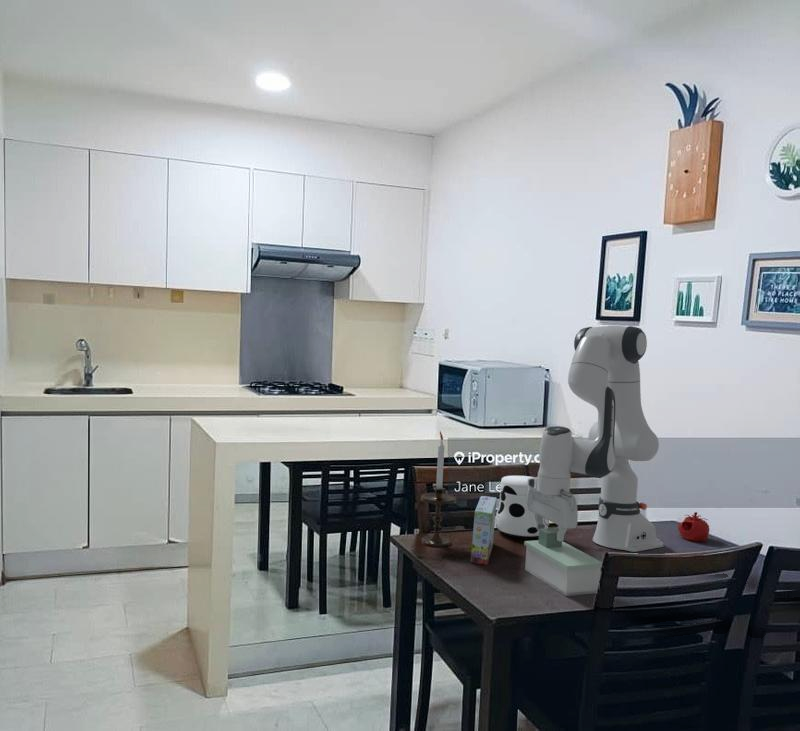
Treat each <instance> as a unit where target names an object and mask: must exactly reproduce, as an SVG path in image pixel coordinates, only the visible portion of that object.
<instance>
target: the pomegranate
mask: <svg viewBox="0 0 800 731" xmlns="http://www.w3.org/2000/svg"><path fill="white" fill-rule="evenodd" d="M700 517H701V518H700ZM707 521H708V519H707V518H704V517H703V518H702V516H701V514H699V515H698V512H697V511H694V512H693V514H691V516H690V515H689V514H686V517H685V518H684V520H683V521H681V522H679V524H678V525H677V528H678V533H679V535H680V536H681V537H682V538H683V539H685V540H687V541H691V542H697V543H698V542H699V541H701V542H705V541H707V540H708V538H709V535H710V526H709V524H708V523H707ZM699 543H700V542H699Z"/></svg>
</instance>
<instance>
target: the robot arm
mask: <svg viewBox="0 0 800 731" xmlns="http://www.w3.org/2000/svg"><path fill="white" fill-rule="evenodd" d="M573 341H574V342H573V347H574V354H573V355H572V356H573V357H572V359H571V363H570V367H569V371H568V376H567V384H568V386H569V390H571V392H572V393H573V394H574V395H576V396H577V397H578V398H579V399H581V400H582V401H584V402H586V403H588V404H589V405H591V406H593V407H594V408H596V410H597V413H598V415H597V421H596V422H595V423H594V424H593V425H592V426H591V427H590V428H589V432H588V439H584V438H578V437H574V436H573V434H572V431H571V429H570V428H568V427H566V426H556V425H555V426H548V427H547V428H545V429H544V430H543V431H542V435H541V440H540V446H539V455H538V459H539V460H538V461H539V469H538V471H537V476H536V477H535V476H534V477H535V478H529V479H528V486H529V488H528V493H527V507H528V510H529V511H531V512H533V513H535V519H536V523H537V530H539V529H545V525H544V523H543V518H545V519H547V520H549V522H552V523H554V524H555V525H557V530H559V531H558V533H555V539H556V540H557V541H563V542H564V540H565V534H566V532H567V531H568V529H575V528H576V527H577V526H578V517H579V516H578V503H577V501H576V498H575V497H574V494H573V493H572V492H570V487H571V473H575V474H581V475H582V474H583V475H586V476H590V477H594V478H597V479H601V484H600V486H601V487H600V488H601V489H600V497H599V498H598V499H599V500H598V518H597V524H596V528H595V532H594V534H593V537H592V541H593V543H595V544H598V545H600V546H602V547H605V548H609V549H614V550H615V549H616V550H622V551H628V552H631V553H636V552H637V553H638V552H641V551H647V550H653V549H658V548H663V547H664V542H663V541H661V539H659V538H657V531H656V530H657V529H656V527H655V525H654V524H653V523H652V522H651V521H650V520H649V519H648V518H646V517H645V516H644V515H643V514H642V513H641V510H643V511H646V510H647V508H648V505H647V503H644V502H640V503H639V501H637V500H638V499H637V497H638V484H639V483H638V482H639V481H638V476H637V475H636V473H635V472H634V470H633V469H632V467H631V464H630V461H632V462H647V461H650V460H652V459H653V458H655V457H656V456H657V453H658V451H659V447H660V446H659V445H660V444H659V438H658V437H657V436H658V435H657V434H656V433H655V432H654V431H653V430H652V429H651V427H650V426H649V423H648V422H647V419H646V417H645V415H644V412H643V408H642V407H643V406H642V401H641V400H642V399H641V396H642V395H641V369H640V362H639V360H641V359H642V358H643V357H644V355H645V354H646V351H647V347H648V345H647V344H648V340H647V335H646V334H645V332H644V331H643V329H642V328H640V327H637V326H631V325H629V326H624V325H605V326H604V325H602V326H594V327H593V326H587V327H584V328H581V329H580V330H579V331H578V332H577V333H576V334H575V337H574V340H573Z"/></svg>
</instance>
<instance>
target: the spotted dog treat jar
mask: <svg viewBox="0 0 800 731" xmlns="http://www.w3.org/2000/svg"><path fill="white" fill-rule="evenodd" d="M529 478H535V476H527V475H506V476H502V477H501V480H500V490H499V503H498V508H497V510H496V513H495V524H496V528H497V530H498V531H499V532H501V533H502V534H504V535H507V536H510V537H514V538H519V539H537V538H538V539H539V530H537V523H536V519H535V513H533V512H531V511H529V510H528V507H527V493H528V488H529V486H528V479H529ZM543 523H544V525H545V529H549V528H550V527H549V526H550V521H549V520H547V519H545V518H543Z"/></svg>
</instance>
